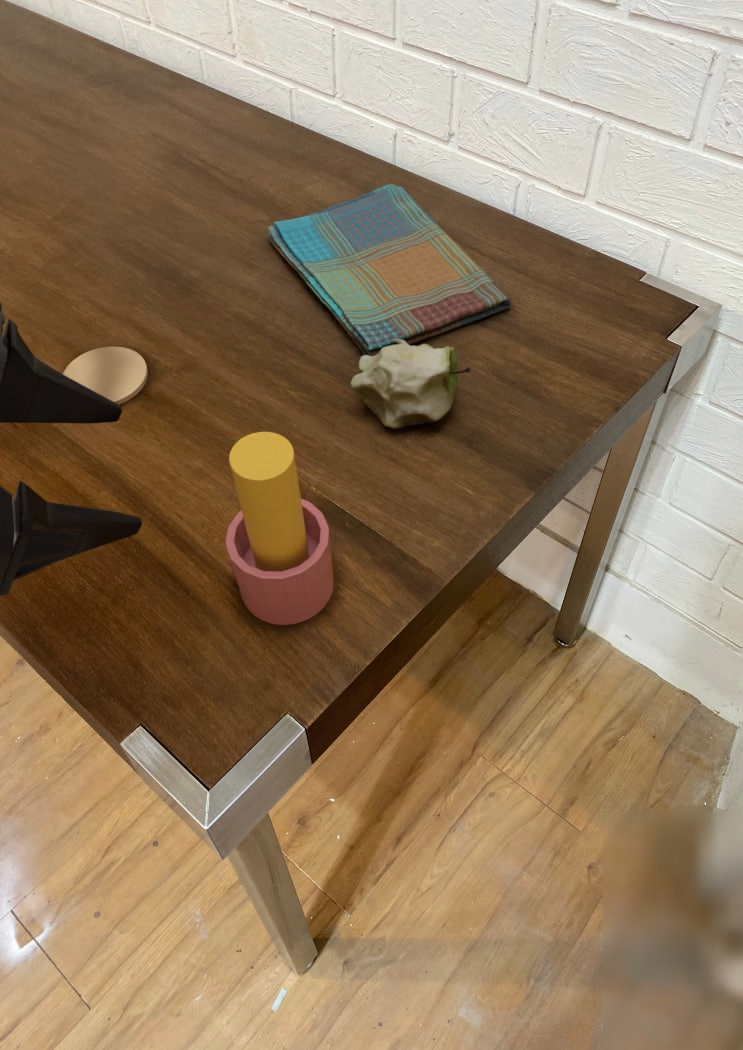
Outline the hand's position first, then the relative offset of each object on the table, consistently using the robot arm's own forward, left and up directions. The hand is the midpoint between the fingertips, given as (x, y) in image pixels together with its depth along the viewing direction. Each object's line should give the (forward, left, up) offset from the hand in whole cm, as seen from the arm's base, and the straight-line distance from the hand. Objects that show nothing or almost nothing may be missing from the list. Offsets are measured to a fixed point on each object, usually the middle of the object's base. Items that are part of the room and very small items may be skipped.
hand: (129, 466), depth 46 cm
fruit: (+24, +13, -16) cm, 32 cm away
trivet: (-2, +27, -16) cm, 32 cm away
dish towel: (+29, +32, -16) cm, 46 cm away
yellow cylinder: (+8, -1, -13) cm, 15 cm away
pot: (+8, -1, -16) cm, 18 cm away
